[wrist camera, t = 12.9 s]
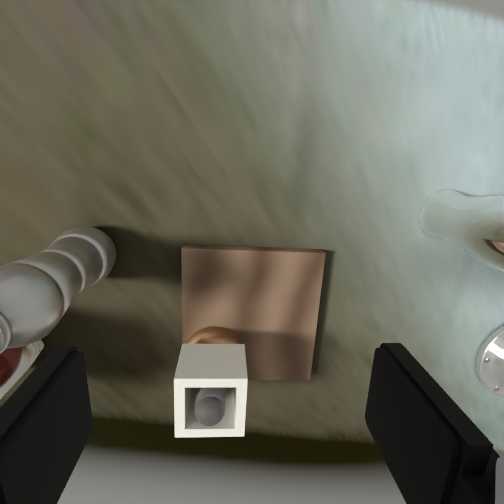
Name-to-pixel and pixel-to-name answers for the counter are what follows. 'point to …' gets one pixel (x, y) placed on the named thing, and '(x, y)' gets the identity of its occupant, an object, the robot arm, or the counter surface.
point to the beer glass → (467, 224)
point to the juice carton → (16, 364)
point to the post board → (252, 311)
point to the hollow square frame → (210, 375)
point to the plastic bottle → (50, 284)
